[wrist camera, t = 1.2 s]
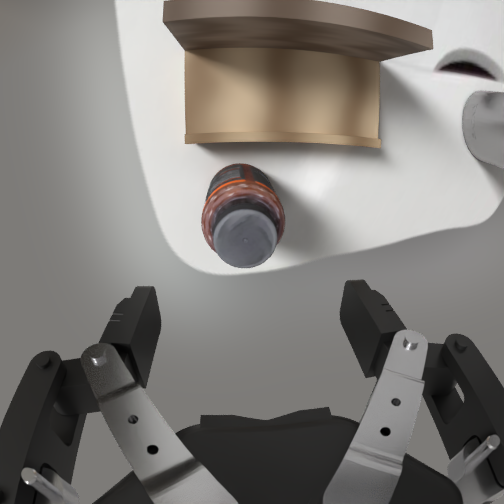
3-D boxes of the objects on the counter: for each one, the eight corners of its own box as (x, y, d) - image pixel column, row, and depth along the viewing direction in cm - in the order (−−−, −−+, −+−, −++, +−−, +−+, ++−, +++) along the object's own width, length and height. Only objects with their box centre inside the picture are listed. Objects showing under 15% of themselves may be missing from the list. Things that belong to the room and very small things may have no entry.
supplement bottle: (196, 200, 29) (177, 251, 18) (232, 149, 27) (231, 171, 16) (247, 232, 30) (255, 296, 20) (283, 185, 28) (312, 228, 18)
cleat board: (367, 51, 23) (431, 30, 13) (366, 144, 27) (430, 164, 17) (189, 41, 22) (163, 1, 12) (190, 140, 26) (164, 156, 16)
